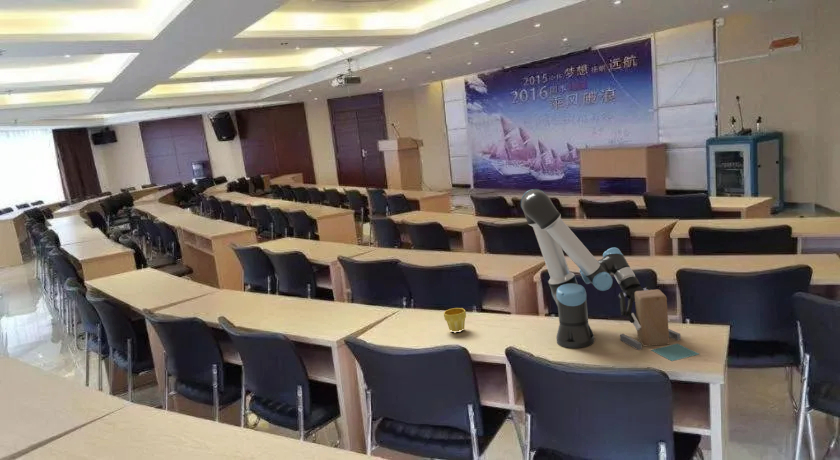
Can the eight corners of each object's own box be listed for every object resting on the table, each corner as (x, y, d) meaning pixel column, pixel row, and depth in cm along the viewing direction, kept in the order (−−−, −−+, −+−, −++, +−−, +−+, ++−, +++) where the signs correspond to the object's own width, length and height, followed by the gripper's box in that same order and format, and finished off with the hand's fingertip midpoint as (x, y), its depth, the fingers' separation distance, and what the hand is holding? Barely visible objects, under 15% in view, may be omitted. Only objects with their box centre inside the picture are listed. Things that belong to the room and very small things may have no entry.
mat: (650, 350, 212) (650, 349, 212) (677, 343, 215) (677, 343, 215) (671, 361, 201) (671, 360, 201) (699, 354, 204) (699, 353, 204)
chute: (620, 340, 226) (619, 334, 225) (660, 330, 230) (660, 325, 229) (638, 349, 214) (638, 343, 214) (680, 339, 218) (680, 333, 218)
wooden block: (670, 345, 215) (667, 295, 212) (643, 346, 216) (639, 297, 213) (662, 335, 225) (659, 288, 221) (637, 337, 226) (633, 290, 223)
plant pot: (441, 333, 261) (439, 313, 260) (455, 326, 269) (452, 306, 267) (458, 336, 254) (456, 316, 253) (472, 328, 262) (469, 309, 260)
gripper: (649, 279, 236) (676, 323, 224) (598, 291, 231) (622, 336, 219) (656, 270, 231) (684, 314, 218) (604, 281, 225) (629, 327, 213)
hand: (653, 325), depth 219 cm, fingers closed on wooden block, 12 cm apart
